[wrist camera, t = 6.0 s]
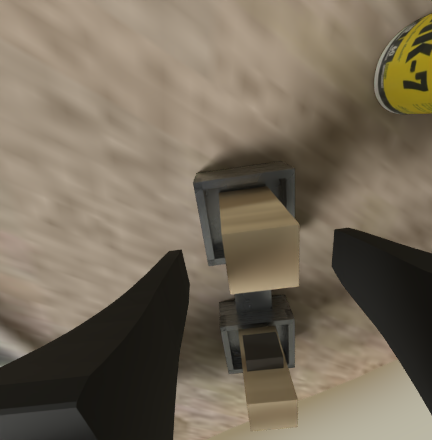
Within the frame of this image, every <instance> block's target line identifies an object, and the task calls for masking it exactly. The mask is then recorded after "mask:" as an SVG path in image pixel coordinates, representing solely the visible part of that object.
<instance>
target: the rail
mask: <svg viewBox="0 0 432 440" xmlns="http://www.w3.org/2000/svg"><path fill="white" fill-rule="evenodd" d="M193 185H194V190H195V196H196V201H197V206H198V212H199V217H200V223H201V228H202V233H203V239H204V244H205V249H206V255H207V260H208V265H209V266H213V265H221V264H226V261H225V254H224V248H223V241H222V233H221V219H220V205H219V193H221V192H229V191H236V190H243V189H250V188H257V187H264V186H267V187H268V188H269V189H270V190H271V191H272V193H273V194H274V195H275V196H276V197H277V198H278V200H279V201H280V202H281V203H282V204H283V206H284V207H285V208H286V209H287V210H288V211H289V213H290V214H291V215H292V216H293V217H294V219H295V168H293V167H292V166H290V165H288V164H286V163H284V162H283V161H279V162H272V163H265V164H258V165H251V166H244V167H237V168H230V169H223V170H216V171H209V172H202V173H196V176H195V179H194V182H193ZM234 295H235V301H228V302H219V310H220V330H221V335H222V341H223V346H224V351H225V357H226V362H227V367H228V373H229V374H234V373H243V367H242V359H241V350H240V342H239V333H238V330H240V329H249V328H258V327H267V326H276V330H277V333H278V336H279V339H280V343H281V346H282V349H283V353H284V356H285V359H286V363H287V366H288V368H294V367H295V318H294V316H293V314H292V311H291V309H290V306H289V304H288V302H287V299H286V297H285V295H280V296H271V290H264V291H255V292H247V293H238V294H234Z"/></svg>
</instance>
